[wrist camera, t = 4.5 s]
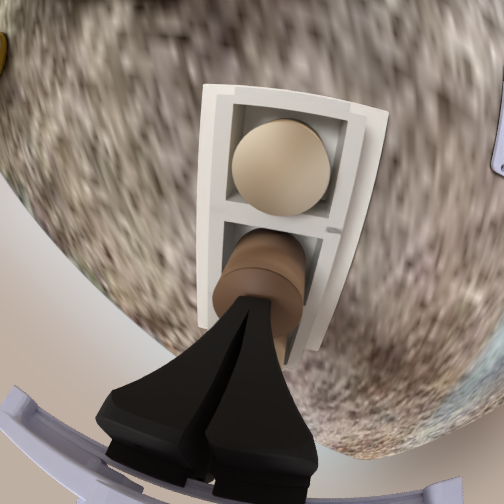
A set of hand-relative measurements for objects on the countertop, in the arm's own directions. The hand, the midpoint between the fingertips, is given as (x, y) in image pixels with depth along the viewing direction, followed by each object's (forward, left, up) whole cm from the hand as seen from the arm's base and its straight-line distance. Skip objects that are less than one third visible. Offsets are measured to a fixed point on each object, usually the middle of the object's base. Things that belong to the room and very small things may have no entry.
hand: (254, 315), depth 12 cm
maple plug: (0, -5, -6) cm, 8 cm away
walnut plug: (0, 0, -4) cm, 4 cm away
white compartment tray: (0, 0, -7) cm, 7 cm away
